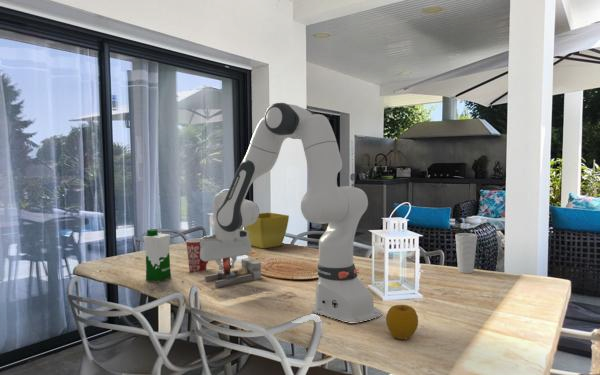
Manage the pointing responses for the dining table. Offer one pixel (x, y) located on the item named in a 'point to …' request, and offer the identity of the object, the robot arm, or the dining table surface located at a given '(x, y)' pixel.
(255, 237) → the flower pot
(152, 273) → the milk carton
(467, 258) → the cup
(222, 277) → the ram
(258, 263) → the cracker bed
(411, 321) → the apple
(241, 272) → the nut
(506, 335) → the dining table surface
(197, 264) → the mug
